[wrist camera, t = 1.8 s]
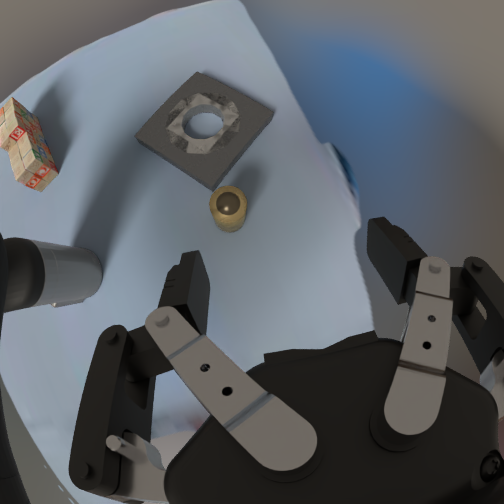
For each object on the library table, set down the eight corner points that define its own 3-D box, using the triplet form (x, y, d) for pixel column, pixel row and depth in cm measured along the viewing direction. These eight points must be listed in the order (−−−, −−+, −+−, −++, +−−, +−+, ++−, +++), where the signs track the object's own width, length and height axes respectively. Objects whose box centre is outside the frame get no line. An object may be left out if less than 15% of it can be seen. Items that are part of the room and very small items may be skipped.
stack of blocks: (60, 173, 45) (26, 153, 33) (41, 193, 44) (5, 177, 32) (37, 117, 45) (11, 95, 33) (21, 135, 45) (-7, 115, 33)
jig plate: (213, 191, 46) (211, 186, 43) (139, 142, 46) (134, 136, 43) (271, 120, 48) (273, 112, 45) (198, 80, 48) (196, 71, 45)
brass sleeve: (233, 238, 46) (232, 229, 36) (209, 221, 46) (201, 207, 36) (250, 214, 46) (254, 199, 36) (226, 197, 46) (224, 178, 36)
